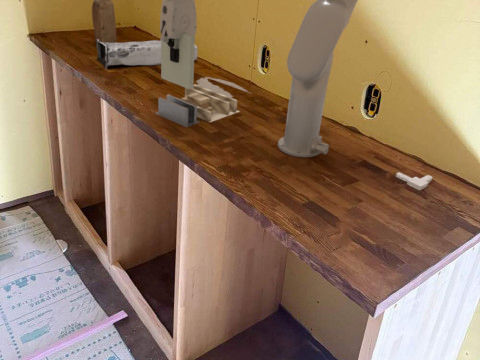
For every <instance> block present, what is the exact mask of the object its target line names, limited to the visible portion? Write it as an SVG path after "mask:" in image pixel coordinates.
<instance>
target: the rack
mask: <svg viewBox="0 0 480 360" xmlns="http://www.w3.org/2000/svg"><path fill="white" fill-rule="evenodd" d="M194 93H198V94H200V95H203V96H206V97H208V98H210V103H209V105H208V106H209V107H212V108H213V112H212V113H211V111H208V110H206V109H203V108H201V107H198V106H197V118H199V119H200V120H203V121H206V122H208V123H212V122H216V121H218V120H221V119H223V118H225V117H229V116H232V115H234V114H237V113H240V112H241V111H240V110H237V109H238V100H237V99H235V98H233V97H232V98H230V97H228V96H225V95H222V94H220V93H217V92H214V91H212V90H209V89H206V88H204V87H201V86H198V84H196V83H195V84H194V83H193V88H192V89H187V88H185V87H184V97H187V95H191V94H194ZM167 95H168V94H166V98H167Z"/></svg>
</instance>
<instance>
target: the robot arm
mask: <svg viewBox="0 0 480 360" xmlns="http://www.w3.org/2000/svg"><path fill="white" fill-rule="evenodd" d="M161 2H162V3H161V7H160V8H161V9H160V19H159V31H160V35H161V36H160V40H159V41H162V42H166V43H167V44H168V47H170V61H173V62H175V63H178V62H179V49H178V38H182V37H183V33H189V34H192V35H195V36H196V33H197V7H196V6H197V5H196V1H195V0H162V1H161ZM358 2H359V1H358V0H316V1H315V2H313V3H312V4H311V5H310V6H309V7H308V9H307V11H306V12H305V15H304V17H303V19H302V21H301V24H300V26H299V29H298V31H297V33H296V36H295V38H294V41H293V43H292V45H291V48H290V50H289V53H288V56H287V58H286V59H287V60H286V63H287V64H286V65H287V69H288V72H289V74H290V76H291V77H292V79H291V84H290V89H289V90H290V91H289V99H288V106H287V113H286V114H287V115H286V120H285V121H286V123H285V127H284V128H285V131H284V136H282V137H280V139H279V140H278V141H277V147H278V149H279V150H280V151H281V152H283V153H285V154H287V155H288V156H292V157H295V158H296V157H298V158H312V157H316V156H319V154H323V155H327V153H328V152H329V147H330V146H329V144H328V143H326V142H323V141H322V138H323V136H322V135H320V129H321V124H322V118H323V112H324V106H325V102H326V101H325V100H326V95H327V90H328V84H329V80H330V75H331V70H332V67H333V61H334V51H335V48H336V46H337V44H338V42H339V41H340V38H341V36H342V33H343V32H344V31H345V29H346V28H347V26H348V24H349V23H350V20H351V17H352V14H353V12H354V10H355V7H356V5H357V3H358ZM167 37H168V38H167ZM172 39H173V41H172Z"/></svg>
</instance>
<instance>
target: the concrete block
mask: <svg viewBox="0 0 480 360" xmlns="http://www.w3.org/2000/svg"><path fill="white" fill-rule="evenodd" d="M95 43H96V49H97V50H96V51H97V57H96V58H97V61H99V63H100V64H102V65H103V68H104V69H105V71H108V67H109V66H119V65H123V66H155V65H156V66H157V65H158V66H159V65H161V40H146V41H128V42H127V41H126V42H116V43H103V42H100V41H99V40H98V39H97V42H95ZM198 50H199V49H198V46H197V45H196V44H195V48H194V61H196V60H197V59H198Z"/></svg>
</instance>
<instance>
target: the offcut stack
mask: <svg viewBox="0 0 480 360" xmlns="http://www.w3.org/2000/svg"><path fill="white" fill-rule="evenodd" d="M180 99H181V100H184V101H186V102H189V103H191V104H194V105H196V106H198V107H201V108H203V109H206V110H208V111H211V113H212V112H213V108H212V107H209V106H208V105H209V103H210V98H208V97H206V96H203V95H200V94H198V93H194V94H191V95H187V97H185V96H184V97H182V98H180Z"/></svg>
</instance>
